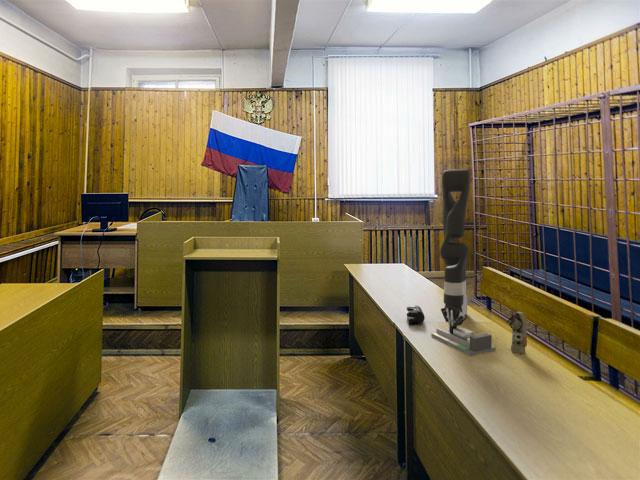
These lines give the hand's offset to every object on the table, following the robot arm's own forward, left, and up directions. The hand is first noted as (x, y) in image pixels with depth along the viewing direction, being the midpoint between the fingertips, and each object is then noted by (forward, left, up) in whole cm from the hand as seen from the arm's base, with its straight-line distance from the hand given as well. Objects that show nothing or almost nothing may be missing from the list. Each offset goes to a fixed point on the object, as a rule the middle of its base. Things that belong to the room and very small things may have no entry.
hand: (453, 334), depth 150 cm
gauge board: (0, +5, -2) cm, 5 cm away
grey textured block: (0, +6, -1) cm, 6 cm away
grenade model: (-11, +21, -2) cm, 24 cm away
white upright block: (0, +11, -1) cm, 11 cm away
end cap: (+1, -24, -2) cm, 24 cm away
